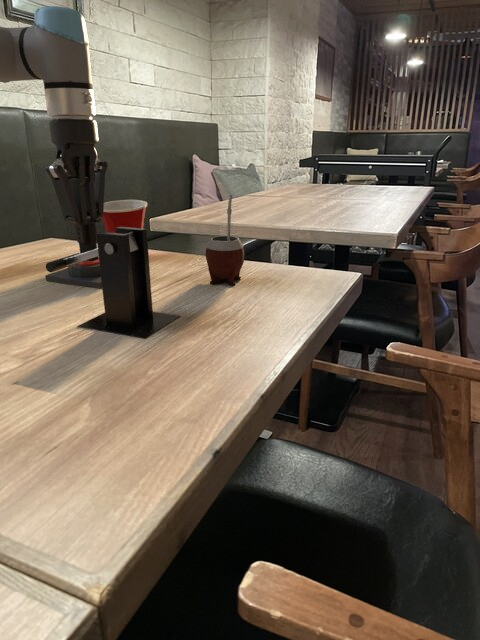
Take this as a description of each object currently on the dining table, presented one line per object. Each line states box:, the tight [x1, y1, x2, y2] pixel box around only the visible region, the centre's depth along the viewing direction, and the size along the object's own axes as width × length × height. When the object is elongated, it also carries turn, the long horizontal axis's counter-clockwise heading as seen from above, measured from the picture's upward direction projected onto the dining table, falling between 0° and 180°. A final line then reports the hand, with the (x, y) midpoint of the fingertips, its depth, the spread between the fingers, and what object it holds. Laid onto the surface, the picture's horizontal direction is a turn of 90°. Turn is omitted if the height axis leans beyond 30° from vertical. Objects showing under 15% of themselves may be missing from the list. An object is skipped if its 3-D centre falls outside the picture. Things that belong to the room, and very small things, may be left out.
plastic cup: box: [101, 199, 148, 233], centre depth 107 cm, size 11×11×12 cm
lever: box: [45, 232, 139, 273], centre depth 67 cm, size 13×6×2 cm, turn 66°
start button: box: [77, 259, 100, 266], centre depth 89 cm, size 4×4×2 cm
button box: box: [44, 257, 102, 290], centre depth 90 cm, size 12×10×4 cm
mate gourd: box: [205, 194, 246, 287], centre depth 89 cm, size 8×8×15 cm
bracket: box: [76, 227, 181, 340], centre depth 67 cm, size 11×9×14 cm
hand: (89, 259), depth 89 cm, fingers closed
